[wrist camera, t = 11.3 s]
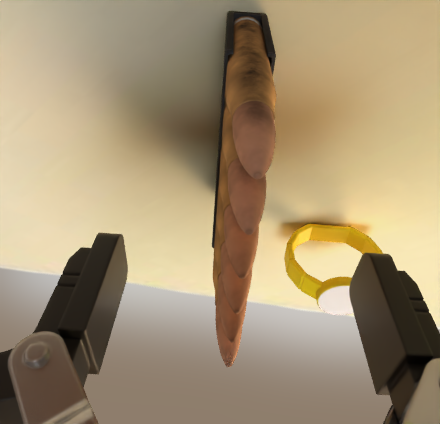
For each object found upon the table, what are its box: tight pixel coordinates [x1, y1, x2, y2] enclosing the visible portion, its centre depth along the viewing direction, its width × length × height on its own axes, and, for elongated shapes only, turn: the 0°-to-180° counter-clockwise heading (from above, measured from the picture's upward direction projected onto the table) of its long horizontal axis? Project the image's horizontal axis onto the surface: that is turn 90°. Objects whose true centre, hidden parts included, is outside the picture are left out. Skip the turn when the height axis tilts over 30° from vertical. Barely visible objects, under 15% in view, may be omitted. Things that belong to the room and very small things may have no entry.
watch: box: [284, 224, 383, 315], centre depth 23 cm, size 6×3×6 cm, turn 89°
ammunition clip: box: [212, 11, 276, 367], centre depth 16 cm, size 11×2×12 cm, turn 176°
